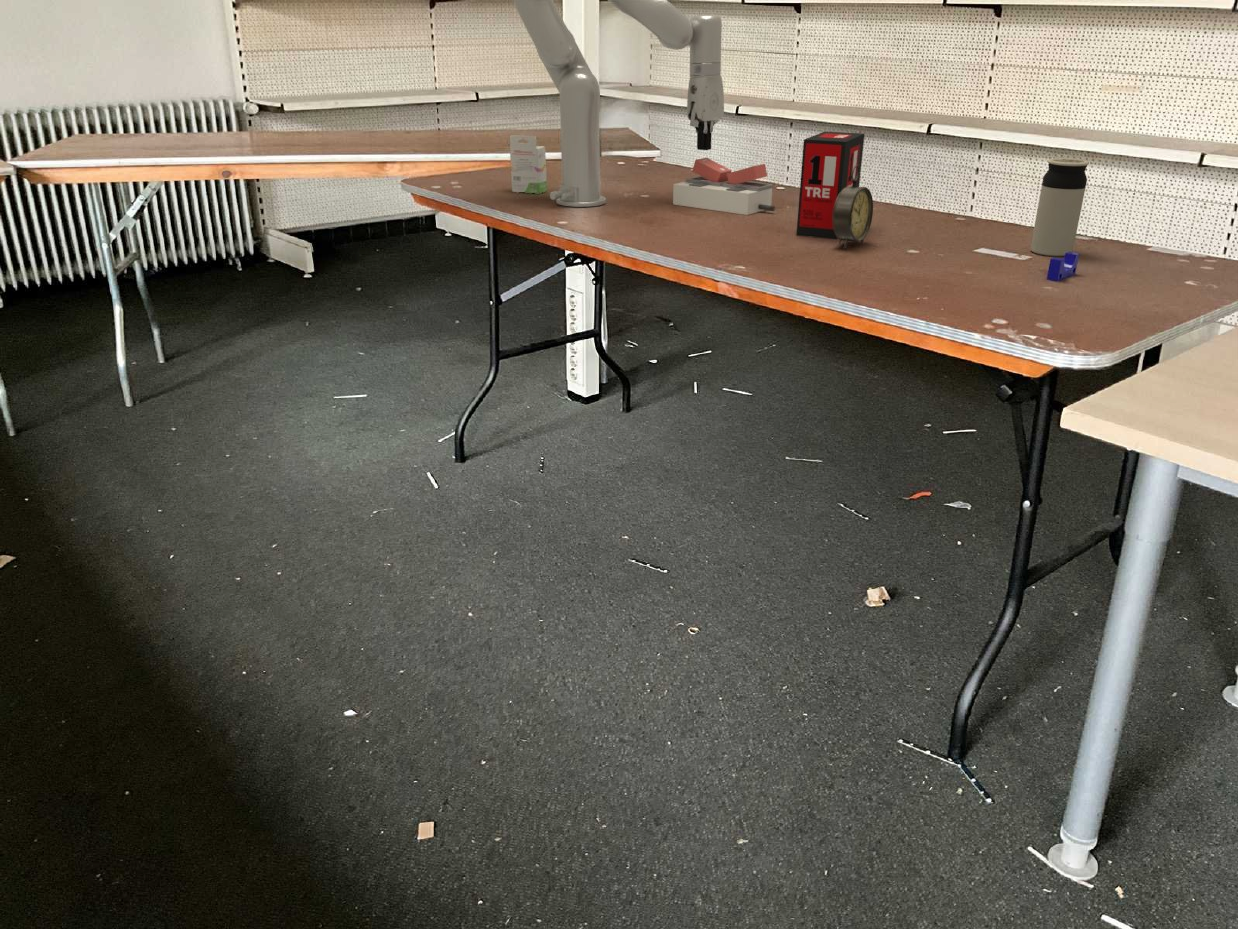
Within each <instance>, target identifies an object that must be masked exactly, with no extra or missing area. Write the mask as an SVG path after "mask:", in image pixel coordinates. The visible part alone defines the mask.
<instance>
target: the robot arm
mask: <svg viewBox="0 0 1238 929" xmlns="http://www.w3.org/2000/svg"><path fill="white" fill-rule="evenodd" d="M607 1H608V2H609V3H610V4H611V5H613V6H614V7H615V8H617V9H618V10H619V11H620V12H622V13H623V14H625V15H628V16H629V17H631V18H633V19H634V20H636V21H637V22H638V23H640V24H641V25H642V26H643V27H644V28H645V29H647V30H648V31H649V32H651V33H652V34H653V35H654V36H655V37H657V39H658V41H659V43H660V44H661V45H662V46H664V47H665V48H667V49H670V50H677V51H678V50H679V51H680V50H683V49H684V48H686V47H689V82H688V86H687V87H688V88H687V97H686V98H687V100H686V106H687V107H686V115H687V119H688V120H689V125H690V127H693V128H695V133H696V134H697V136H696V149H697V150H699V151H710V150H711V149H712V133H713V132H714V127H715V125H716V124H717V123H719V119H722V118H723V117H724V114H725V102H724V101H725V96H724V84H723V82H724V81H723V77H722V71H721V70H722V33H723V32H722V25H723V24H722V23H723V22H722V18H721V17H720V16H719V15H717V14H698V15H697V14H696V15H693V16H691V15H690V16H688V15H685V14H684V13H683V12H681V11H680V10H679V9H678V8H677V7H675V5H673V4H672V3H671V2H670V1H668V0H607ZM513 4H514V6H515V9H516V11H517V13H518V15H519V18H520V19H521V21H522V23H523V25H524V28H525V29H526V31H527V33H528V35H529V37H530V38H531V41H532V43H533V44H534V46H535V48H536V52H537V54H538V57H539V60H541V62H542V63H543V66H544V67H545V69H546V72H547V73H548V75H549V77H550V79H551V80H552V82H553V84H554V86H555V88H556V89H557V91H558V93H559V104H560V106H559V107H560V108H559V109H560V110H559V112H560V113H559V114H560V115H559V116H560V117H559V119H560V149H561V150H560V151H561V158H560V159H561V185H559V189H558V190H555V191H551V192H550V193H549V197H550V199H551V201H554V200H555V201H556V203H557V204H558V205H561V206H564V207H572V208H578V207H579V208H580V207H581V208H584V207H586V208H587V207H597V206H602V205H605V204H606V203H607V198H606V197H605V196H602V195H601V183H600V182H601V181H600V180H601V178H600V177H601V174H600V170H601V169H600V164H601V163H600V161H601V160H600V157H601V156H600V155H601V154H600V151H601V150H600V144H601V143H600V106H601V91H600V90H601V88H600V85H599V81H598V80H597V77H596V76H595V74H593V72H592V71H591V68H590V67H589V65H588V62H587V61H586V58H585V57H584V55H583V54H582V52H581V50H580V49H581V48H579V45H578V44H577V42H576V39H575V37H574V35H573V33H572V32H571V31H570V30H569V28H568V27H567V25H566V23H565V22H564V20H563V18H562V16H561V14H560V13H559V10H558V8H557V6H556V4H555V2H554V0H513Z"/></svg>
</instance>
